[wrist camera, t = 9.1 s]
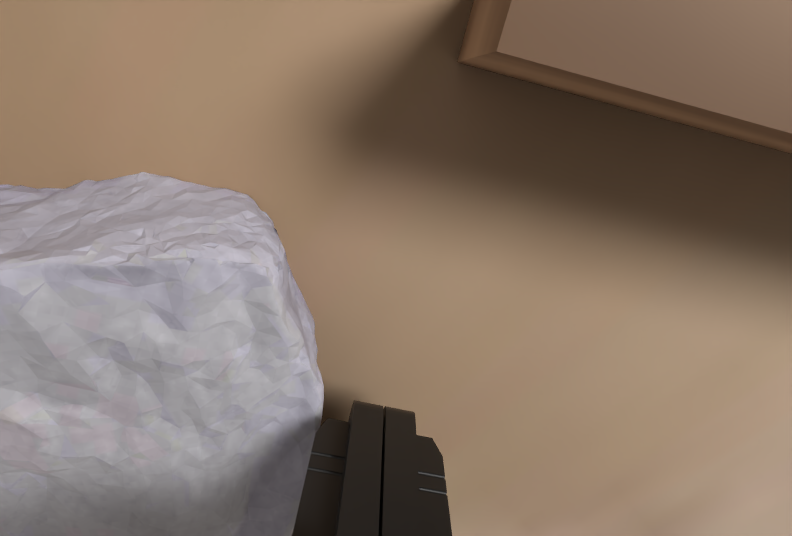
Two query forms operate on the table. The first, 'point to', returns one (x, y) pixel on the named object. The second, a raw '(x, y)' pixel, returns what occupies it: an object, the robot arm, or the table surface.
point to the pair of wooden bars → (651, 57)
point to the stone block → (150, 363)
